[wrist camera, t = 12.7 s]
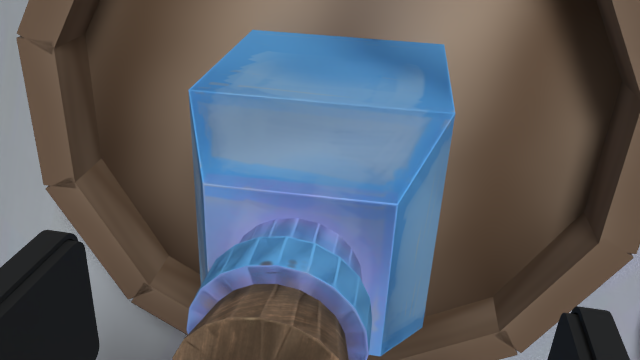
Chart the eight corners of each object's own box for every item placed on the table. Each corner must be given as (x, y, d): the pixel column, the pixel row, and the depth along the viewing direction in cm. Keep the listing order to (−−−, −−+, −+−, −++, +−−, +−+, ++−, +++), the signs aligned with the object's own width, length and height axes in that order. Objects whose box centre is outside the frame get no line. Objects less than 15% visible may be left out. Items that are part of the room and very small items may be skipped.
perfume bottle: (421, 213, 22) (424, 535, 11) (254, 195, 22) (108, 483, 12) (444, 44, 19) (479, 260, 8) (252, 29, 20) (58, 212, 9)
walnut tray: (738, -205, 16) (803, -221, 13) (561, 360, 25) (578, 418, 22) (30, -233, 18) (-37, -251, 15) (106, 298, 27) (73, 344, 24)
